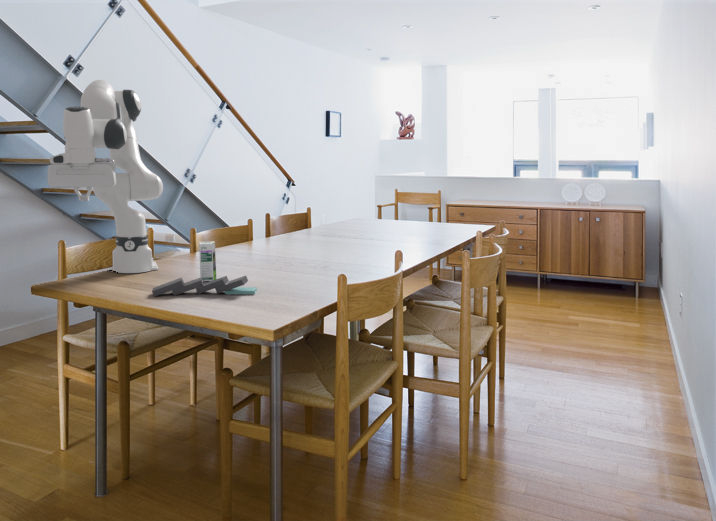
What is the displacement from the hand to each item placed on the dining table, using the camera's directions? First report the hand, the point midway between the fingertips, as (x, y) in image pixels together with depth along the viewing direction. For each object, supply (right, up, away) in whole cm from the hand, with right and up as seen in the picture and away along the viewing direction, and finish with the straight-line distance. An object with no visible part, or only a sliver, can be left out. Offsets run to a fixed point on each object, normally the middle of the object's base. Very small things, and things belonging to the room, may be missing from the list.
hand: (84, 200), depth 188 cm
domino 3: (+36, -30, +8) cm, 47 cm away
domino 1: (+22, -30, +4) cm, 37 cm away
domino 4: (+42, -29, +7) cm, 52 cm away
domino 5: (+45, -30, +8) cm, 55 cm away
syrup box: (+34, -27, +27) cm, 51 cm away
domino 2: (+27, -30, +5) cm, 41 cm away
